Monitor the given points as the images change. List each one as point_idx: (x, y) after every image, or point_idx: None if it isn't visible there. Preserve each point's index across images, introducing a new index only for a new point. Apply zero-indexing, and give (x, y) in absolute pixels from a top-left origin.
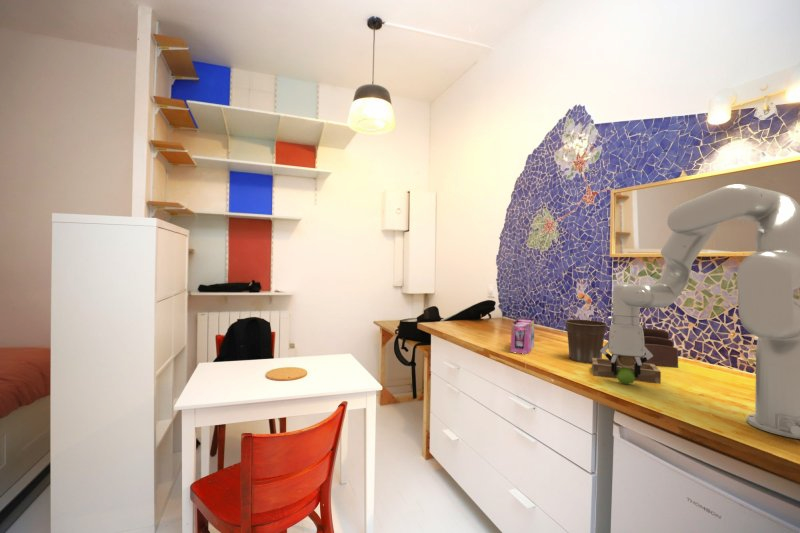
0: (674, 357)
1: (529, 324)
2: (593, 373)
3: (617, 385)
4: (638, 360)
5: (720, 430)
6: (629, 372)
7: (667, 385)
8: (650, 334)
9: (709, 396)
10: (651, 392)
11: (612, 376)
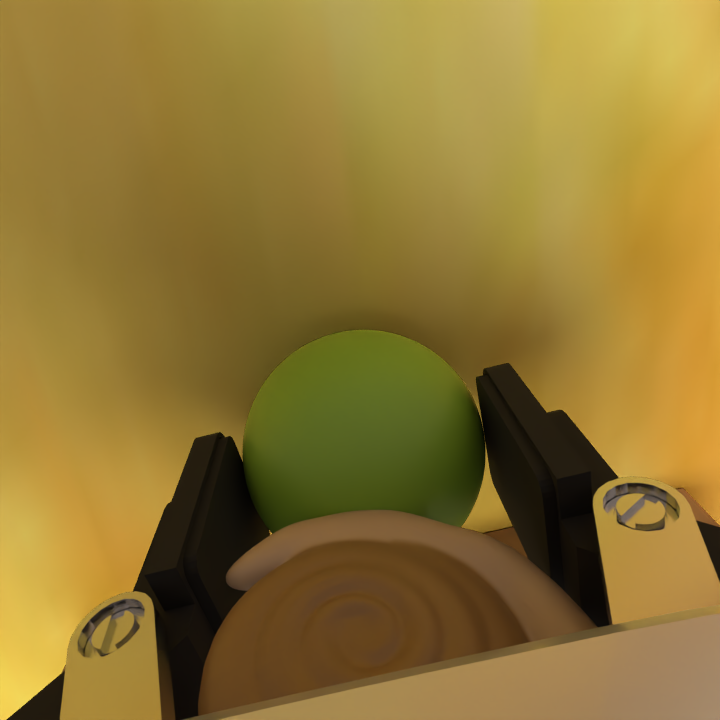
0: None
1: None
2: (696, 504)
3: (428, 258)
4: (108, 692)
5: None
6: (301, 424)
7: (20, 616)
8: None
9: None
10: (30, 223)
11: (503, 540)
